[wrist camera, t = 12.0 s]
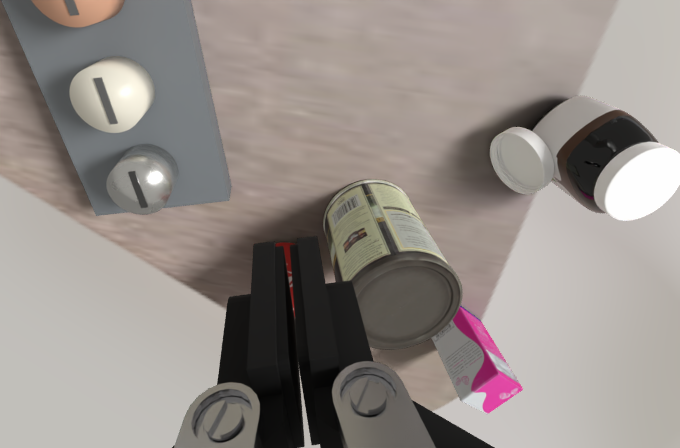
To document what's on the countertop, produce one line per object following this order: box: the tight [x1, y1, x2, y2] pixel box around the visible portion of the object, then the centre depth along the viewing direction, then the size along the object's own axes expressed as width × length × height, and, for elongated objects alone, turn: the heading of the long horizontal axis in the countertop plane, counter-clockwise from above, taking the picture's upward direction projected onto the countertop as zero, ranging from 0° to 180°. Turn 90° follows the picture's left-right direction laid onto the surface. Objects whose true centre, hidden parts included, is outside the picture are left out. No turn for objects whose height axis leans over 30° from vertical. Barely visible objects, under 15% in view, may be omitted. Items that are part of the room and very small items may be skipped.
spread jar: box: [490, 96, 680, 221], centre depth 39 cm, size 12×11×12 cm
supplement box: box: [432, 306, 523, 414], centre depth 52 cm, size 6×6×12 cm
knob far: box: [106, 144, 178, 215], centre depth 35 cm, size 5×5×7 cm
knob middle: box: [69, 56, 155, 133], centre depth 31 cm, size 5×5×7 cm
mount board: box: [1, 0, 232, 216], centre depth 33 cm, size 22×12×3 cm, turn 3°
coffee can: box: [323, 180, 462, 350], centre depth 39 cm, size 10×10×14 cm
